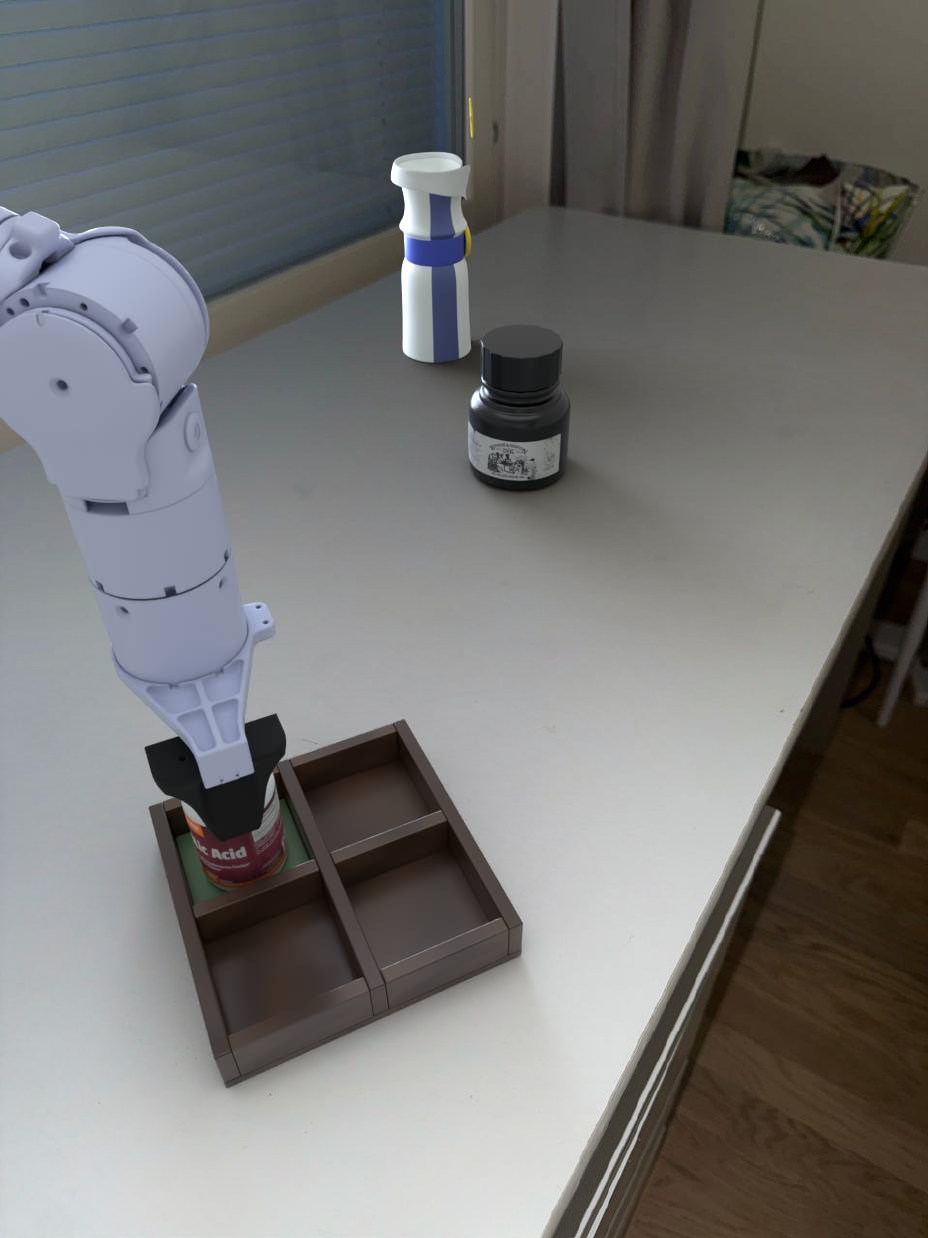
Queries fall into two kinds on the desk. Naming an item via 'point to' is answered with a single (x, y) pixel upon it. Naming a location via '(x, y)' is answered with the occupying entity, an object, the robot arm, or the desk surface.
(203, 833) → the pill bottle
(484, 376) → the ink bottle
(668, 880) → the desk surface
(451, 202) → the water bottle
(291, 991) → the tray
